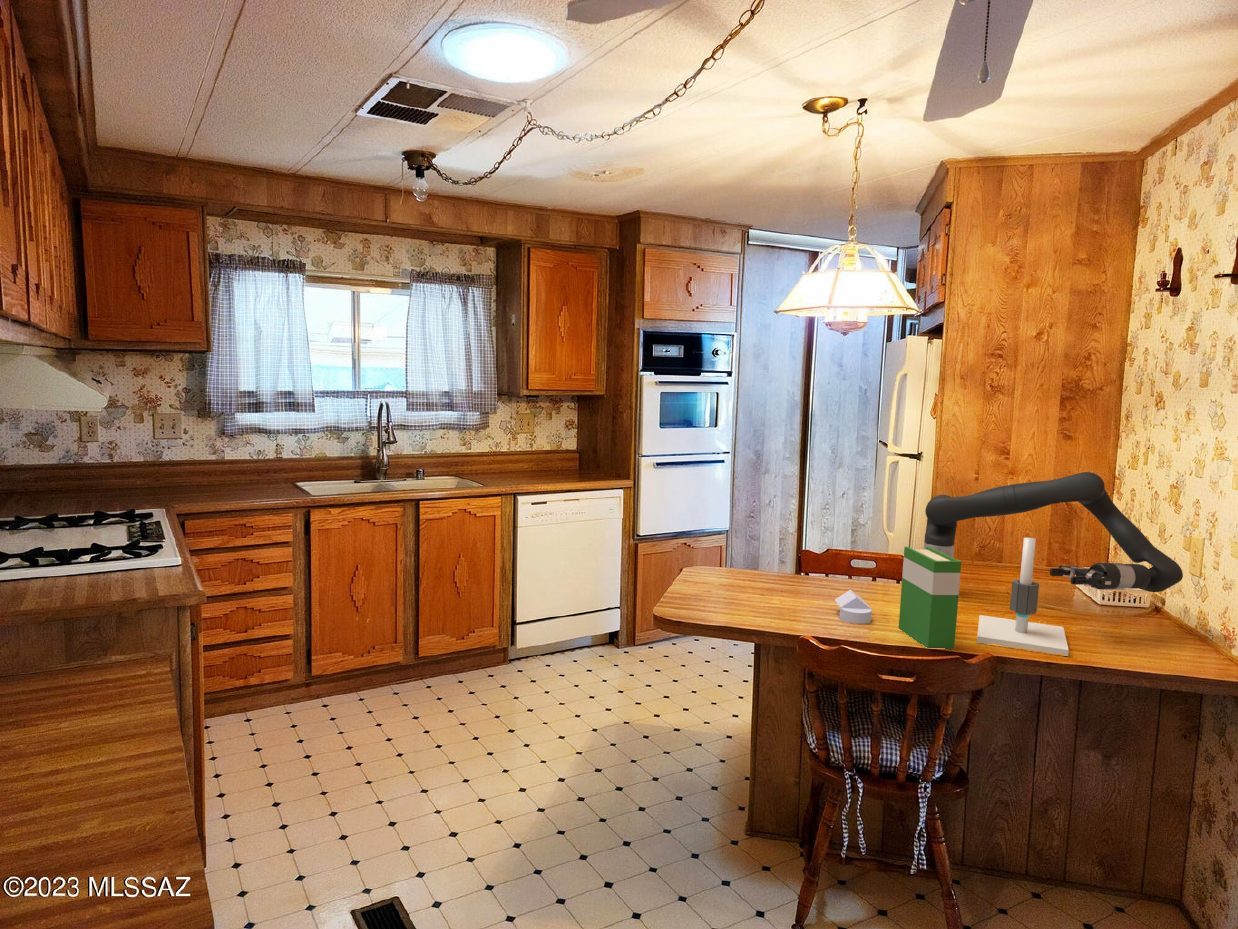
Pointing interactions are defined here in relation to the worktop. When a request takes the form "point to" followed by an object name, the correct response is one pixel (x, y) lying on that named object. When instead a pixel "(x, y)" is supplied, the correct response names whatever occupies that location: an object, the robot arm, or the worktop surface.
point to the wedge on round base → (853, 608)
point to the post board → (1022, 639)
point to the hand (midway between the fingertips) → (1060, 576)
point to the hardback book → (930, 597)
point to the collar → (1024, 597)
